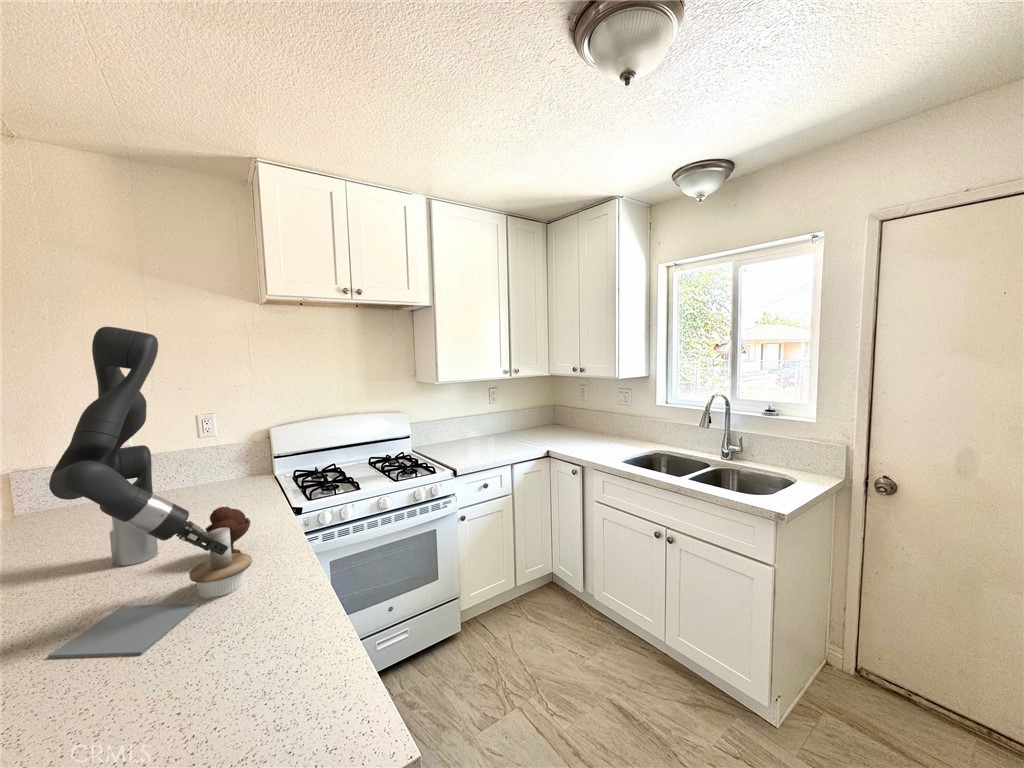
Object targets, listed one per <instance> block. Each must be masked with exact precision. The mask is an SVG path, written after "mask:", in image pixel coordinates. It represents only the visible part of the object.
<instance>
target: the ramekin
mask: <svg viewBox="0 0 1024 768" xmlns="http://www.w3.org/2000/svg"><path fill="white" fill-rule="evenodd" d="M246 577H247V569H246V570H244V571H242V572H241V573H239V574H237V575H234V576H232V577H229V578H226V579H223V580H219V581H214V582H206V583H198V582H195V585H196V587H197V591H198V593H199V595H200V596H201V597H203V598H205V597H207V598H206V599H212V598H211V597H216V598H219V597H218V596H221V597H223V596H222V595H224V596H226V595H225V594H227V595H229V594H228V593H230V594H232V593H234V592H236V591H238V590H239V589H240V588H241V587H242V586H243V585H244V583H245V581H246ZM238 588H239V589H238ZM237 589H238V590H237ZM235 590H236V591H235ZM233 591H234V592H233ZM231 592H232V593H231Z"/></svg>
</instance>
